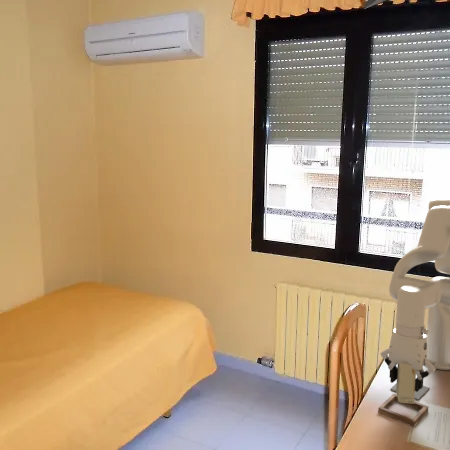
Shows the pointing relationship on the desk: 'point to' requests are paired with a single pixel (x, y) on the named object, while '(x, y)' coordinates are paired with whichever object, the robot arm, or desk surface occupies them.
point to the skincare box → (405, 383)
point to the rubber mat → (418, 394)
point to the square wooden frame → (399, 417)
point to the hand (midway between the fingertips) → (405, 384)
